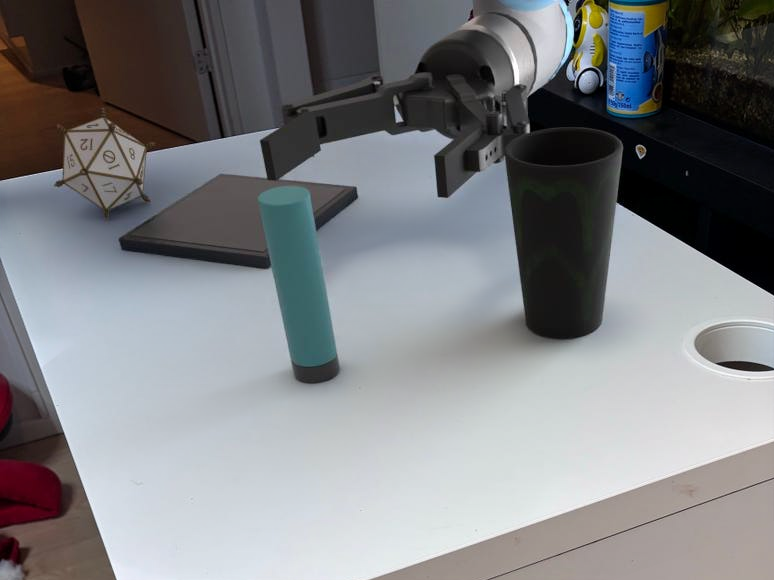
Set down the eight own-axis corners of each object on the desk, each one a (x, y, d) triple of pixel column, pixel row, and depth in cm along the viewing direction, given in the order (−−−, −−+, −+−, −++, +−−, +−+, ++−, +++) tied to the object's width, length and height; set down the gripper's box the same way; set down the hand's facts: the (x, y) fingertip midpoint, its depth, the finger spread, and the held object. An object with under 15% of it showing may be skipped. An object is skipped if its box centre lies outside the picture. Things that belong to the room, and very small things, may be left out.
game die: (128, 239, 100) (125, 132, 99) (174, 223, 94) (172, 109, 93) (37, 218, 93) (33, 103, 92) (81, 199, 88) (77, 77, 87)
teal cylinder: (285, 379, 70) (247, 202, 62) (308, 357, 72) (275, 183, 64) (325, 386, 69) (292, 206, 61) (347, 364, 71) (318, 187, 63)
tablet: (121, 249, 89) (117, 237, 88) (222, 183, 99) (220, 172, 98) (267, 268, 84) (265, 256, 83) (358, 197, 94) (356, 185, 94)
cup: (627, 302, 76) (635, 129, 67) (602, 351, 70) (607, 170, 62) (528, 292, 78) (523, 124, 69) (497, 339, 73) (487, 163, 64)
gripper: (617, 138, 83) (521, 241, 69) (348, 118, 91) (214, 206, 77) (620, 33, 78) (517, 122, 64) (335, 21, 86) (188, 98, 72)
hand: (351, 168), depth 70 cm, fingers open, 13 cm apart
